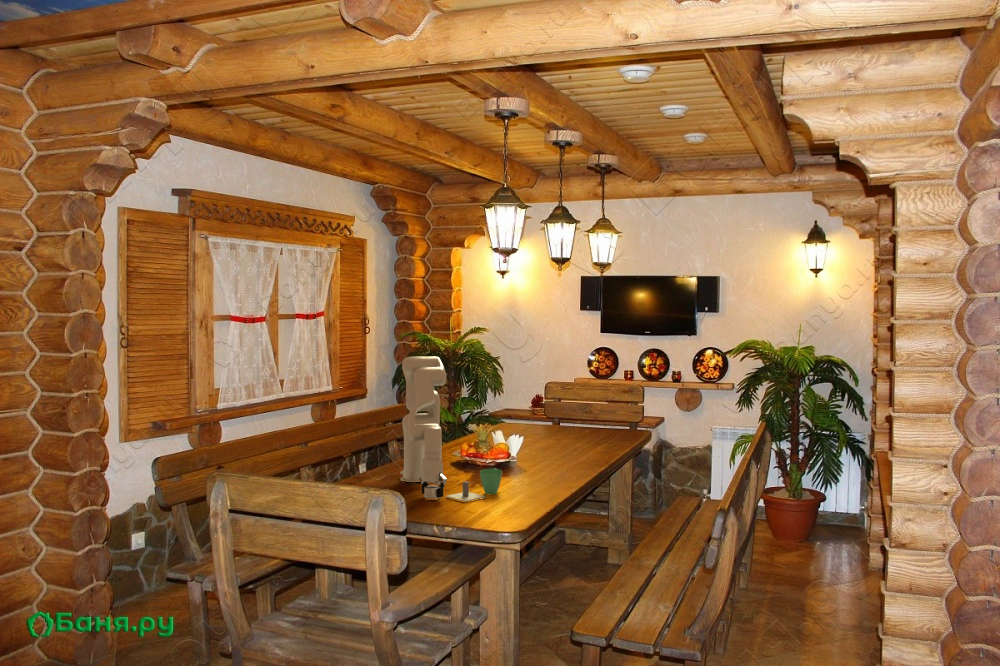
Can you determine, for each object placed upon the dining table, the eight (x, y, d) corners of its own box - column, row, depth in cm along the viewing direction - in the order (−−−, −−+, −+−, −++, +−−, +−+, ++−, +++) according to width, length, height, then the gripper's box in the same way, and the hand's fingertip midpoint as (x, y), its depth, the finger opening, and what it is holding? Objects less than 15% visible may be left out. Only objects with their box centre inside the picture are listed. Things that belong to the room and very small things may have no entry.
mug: (499, 496, 357) (499, 474, 357) (477, 495, 359) (477, 472, 359) (506, 489, 371) (506, 467, 371) (484, 488, 373) (484, 466, 373)
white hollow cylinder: (421, 498, 352) (421, 487, 352) (433, 496, 357) (433, 484, 357) (431, 501, 347) (431, 489, 347) (443, 498, 352) (443, 487, 352)
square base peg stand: (445, 498, 354) (445, 482, 353) (466, 493, 362) (466, 477, 362) (464, 503, 345) (465, 486, 345) (485, 498, 354) (485, 482, 354)
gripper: (412, 453, 355) (412, 493, 356) (439, 459, 343) (439, 500, 343) (426, 451, 360) (426, 490, 361) (452, 457, 348) (452, 497, 349)
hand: (432, 495), depth 352 cm, fingers open, 9 cm apart
